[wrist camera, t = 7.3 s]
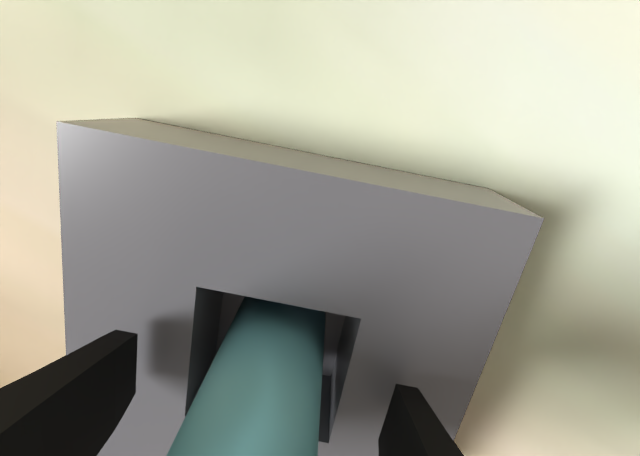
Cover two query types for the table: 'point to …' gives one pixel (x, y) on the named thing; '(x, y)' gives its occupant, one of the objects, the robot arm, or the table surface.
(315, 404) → the pin
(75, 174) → the socket block
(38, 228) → the table surface
